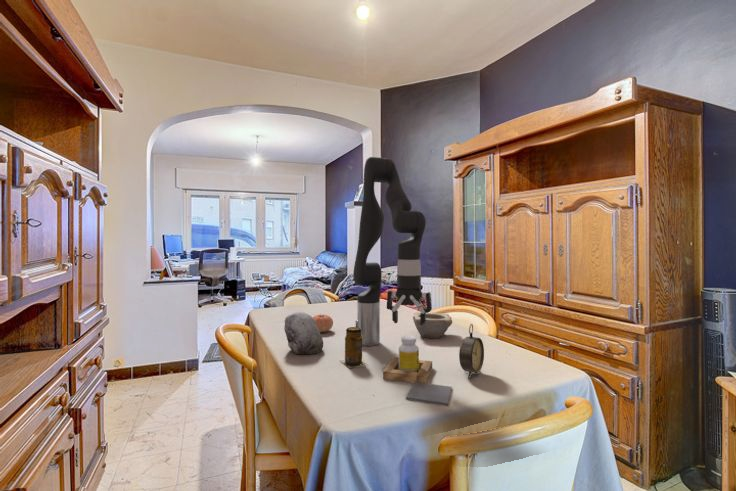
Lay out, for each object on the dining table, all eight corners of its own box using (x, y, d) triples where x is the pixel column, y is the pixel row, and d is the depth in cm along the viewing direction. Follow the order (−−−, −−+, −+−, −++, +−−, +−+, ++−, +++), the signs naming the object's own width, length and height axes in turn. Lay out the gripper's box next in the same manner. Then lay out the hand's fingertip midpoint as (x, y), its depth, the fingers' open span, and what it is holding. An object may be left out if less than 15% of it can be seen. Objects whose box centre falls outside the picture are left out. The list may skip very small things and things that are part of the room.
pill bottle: (418, 378, 114) (418, 341, 114) (397, 376, 116) (397, 339, 115) (419, 370, 121) (419, 335, 120) (399, 369, 122) (399, 334, 122)
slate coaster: (406, 399, 99) (406, 397, 99) (414, 383, 110) (414, 381, 110) (447, 405, 96) (447, 403, 96) (451, 388, 106) (451, 386, 106)
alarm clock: (472, 381, 112) (473, 328, 111) (455, 377, 115) (456, 326, 114) (485, 371, 120) (485, 322, 120) (469, 367, 123) (469, 319, 123)
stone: (324, 355, 136) (324, 315, 136) (284, 357, 133) (283, 316, 133) (321, 345, 148) (321, 308, 148) (284, 347, 145) (284, 309, 145)
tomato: (331, 334, 164) (331, 317, 164) (307, 334, 164) (307, 317, 164) (334, 328, 175) (334, 312, 174) (311, 328, 175) (311, 311, 174)
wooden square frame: (383, 378, 114) (383, 371, 113) (394, 363, 127) (394, 356, 127) (424, 384, 109) (424, 376, 109) (432, 368, 123) (432, 361, 122)
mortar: (449, 331, 169) (450, 312, 169) (452, 342, 153) (452, 320, 153) (413, 330, 172) (413, 310, 172) (412, 340, 155) (412, 318, 155)
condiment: (358, 358, 133) (358, 325, 132) (368, 365, 125) (368, 330, 125) (339, 361, 130) (339, 327, 129) (349, 369, 122) (349, 333, 122)
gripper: (384, 273, 116) (384, 324, 116) (429, 275, 111) (429, 328, 112) (390, 271, 123) (390, 319, 123) (433, 273, 118) (433, 322, 119)
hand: (408, 323), depth 118 cm, fingers open, 8 cm apart
